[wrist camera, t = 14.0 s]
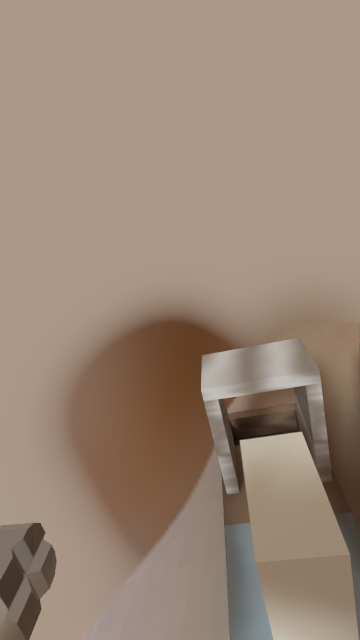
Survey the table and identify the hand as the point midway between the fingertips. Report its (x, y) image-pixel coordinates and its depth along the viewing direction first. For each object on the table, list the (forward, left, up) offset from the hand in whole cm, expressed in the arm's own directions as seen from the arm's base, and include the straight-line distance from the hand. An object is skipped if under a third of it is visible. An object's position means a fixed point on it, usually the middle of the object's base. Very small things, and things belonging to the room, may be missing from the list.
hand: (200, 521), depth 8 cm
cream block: (-3, -16, -26) cm, 31 cm away
